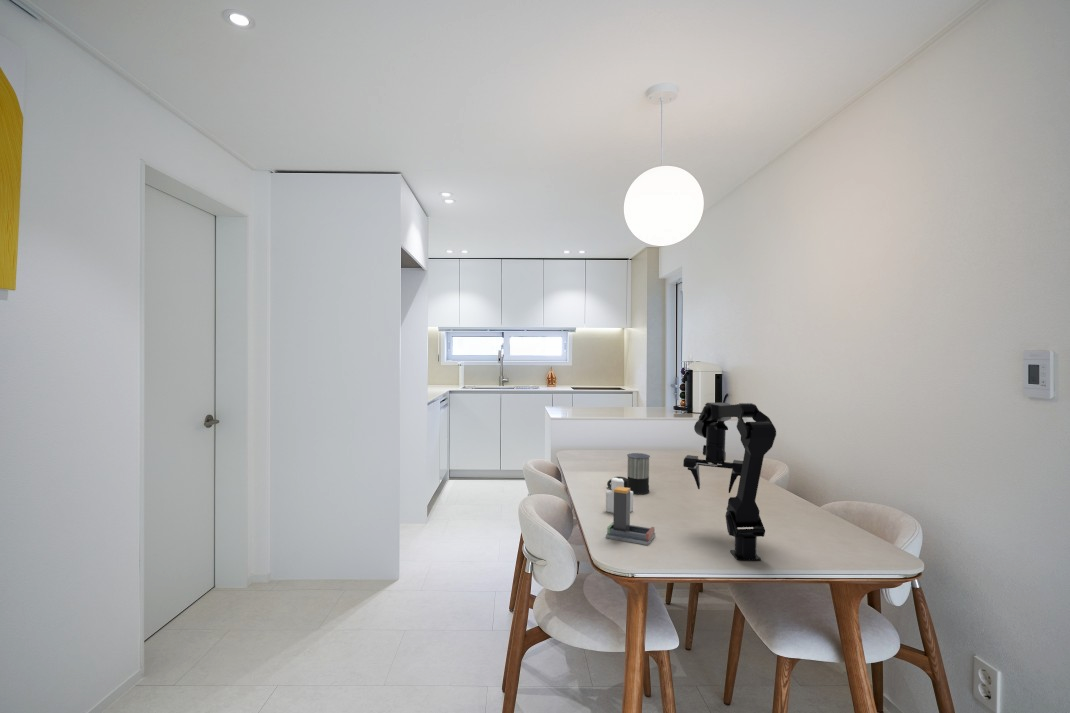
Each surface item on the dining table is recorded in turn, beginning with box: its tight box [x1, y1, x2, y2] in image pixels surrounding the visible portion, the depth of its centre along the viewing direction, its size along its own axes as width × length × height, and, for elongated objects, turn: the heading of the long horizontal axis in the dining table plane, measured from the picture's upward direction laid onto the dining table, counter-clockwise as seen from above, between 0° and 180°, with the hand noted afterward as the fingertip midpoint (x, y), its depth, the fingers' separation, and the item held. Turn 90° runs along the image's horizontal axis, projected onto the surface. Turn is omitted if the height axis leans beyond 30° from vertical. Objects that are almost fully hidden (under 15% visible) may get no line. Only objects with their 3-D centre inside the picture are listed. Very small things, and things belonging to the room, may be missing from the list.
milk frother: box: [606, 452, 651, 495], centre depth 223 cm, size 14×16×15 cm
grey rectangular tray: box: [605, 522, 656, 546], centre depth 168 cm, size 13×9×3 cm
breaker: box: [612, 487, 631, 531], centre depth 169 cm, size 4×4×13 cm
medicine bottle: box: [605, 476, 634, 514], centre depth 194 cm, size 7×7×12 cm
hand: (714, 490), depth 173 cm, fingers open, 9 cm apart
